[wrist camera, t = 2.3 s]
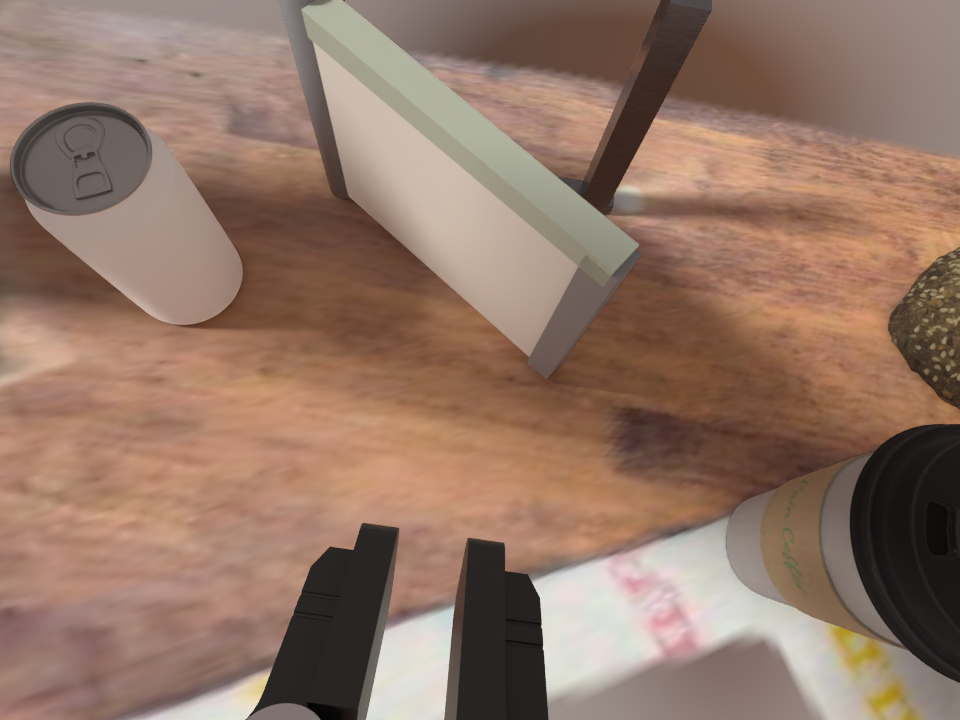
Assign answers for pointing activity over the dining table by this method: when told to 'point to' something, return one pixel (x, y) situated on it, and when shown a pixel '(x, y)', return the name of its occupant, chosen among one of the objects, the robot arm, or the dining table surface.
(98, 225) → the can
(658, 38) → the gate frame
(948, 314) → the bread roll
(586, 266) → the gate
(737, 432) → the dining table surface
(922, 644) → the coffee cup
